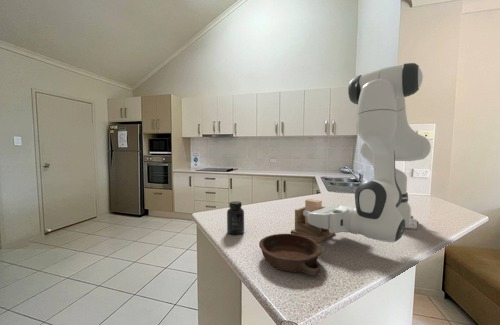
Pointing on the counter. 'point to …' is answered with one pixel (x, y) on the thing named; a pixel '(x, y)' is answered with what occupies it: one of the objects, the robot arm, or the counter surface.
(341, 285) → the counter surface
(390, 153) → the robot arm
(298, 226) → the tan railed base plate
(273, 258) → the dish
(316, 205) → the clay block
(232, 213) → the supplement bottle
